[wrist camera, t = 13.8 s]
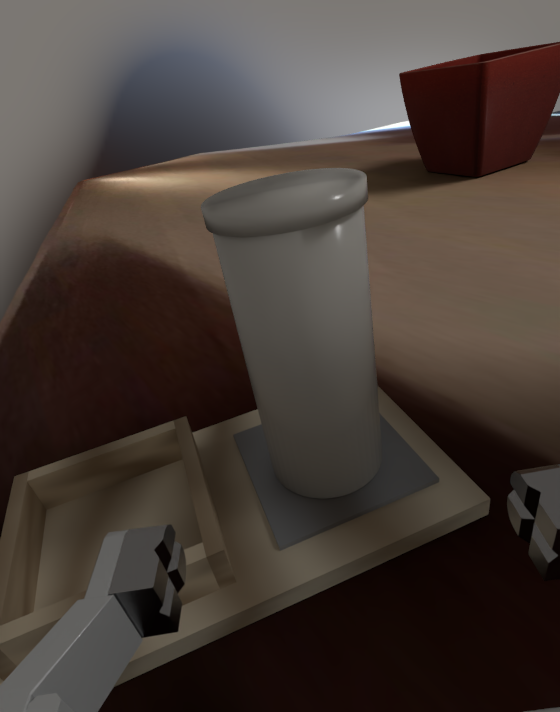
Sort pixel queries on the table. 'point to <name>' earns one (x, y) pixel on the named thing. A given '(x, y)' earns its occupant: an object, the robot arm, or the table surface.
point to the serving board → (216, 526)
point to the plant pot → (482, 108)
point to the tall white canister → (305, 322)
